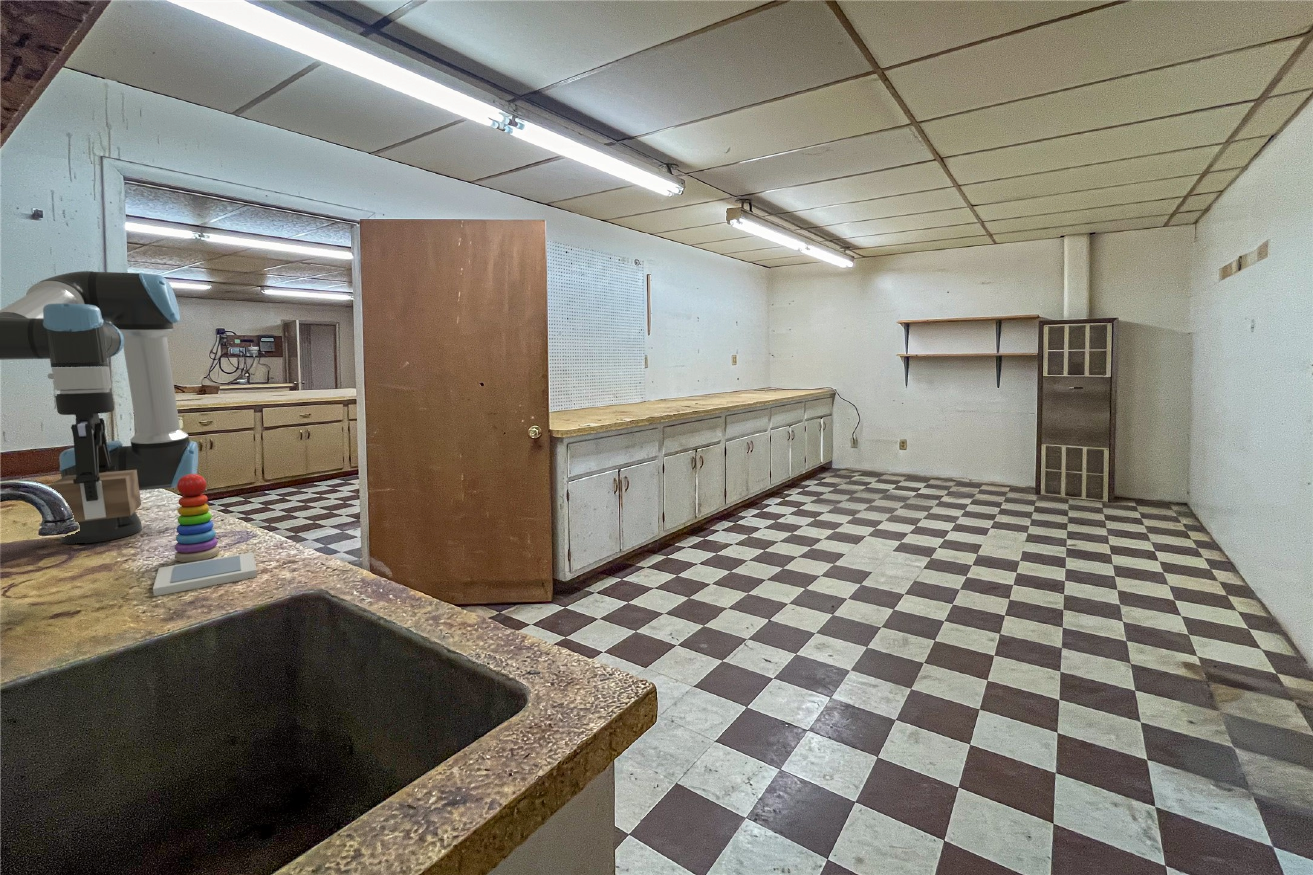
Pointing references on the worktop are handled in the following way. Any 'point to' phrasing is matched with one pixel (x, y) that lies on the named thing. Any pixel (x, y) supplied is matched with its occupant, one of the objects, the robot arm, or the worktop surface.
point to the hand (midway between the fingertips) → (101, 511)
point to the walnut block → (104, 494)
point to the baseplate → (204, 573)
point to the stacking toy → (194, 522)
